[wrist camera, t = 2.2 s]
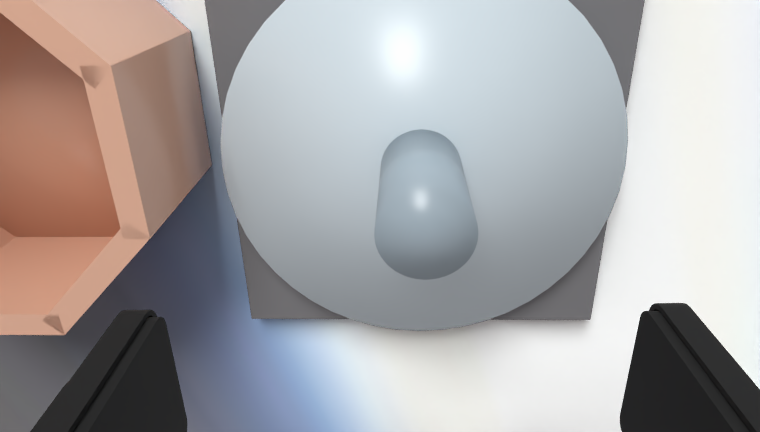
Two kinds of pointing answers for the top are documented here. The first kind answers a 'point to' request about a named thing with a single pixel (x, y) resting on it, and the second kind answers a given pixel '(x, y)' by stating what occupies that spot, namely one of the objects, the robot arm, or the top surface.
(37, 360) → the top surface
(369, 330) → the top surface
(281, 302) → the mat
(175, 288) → the top surface
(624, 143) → the lid
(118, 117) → the bowl
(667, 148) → the top surface
